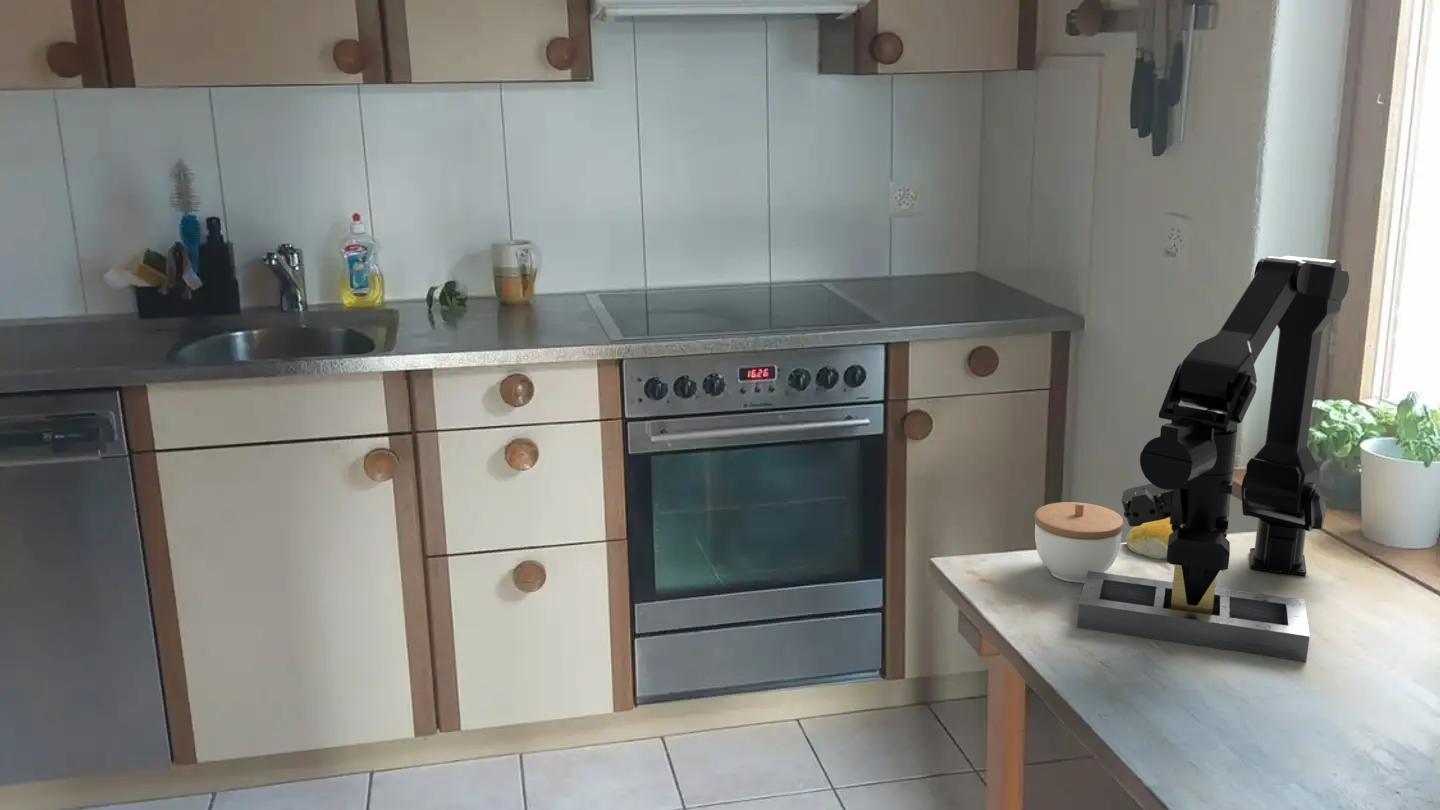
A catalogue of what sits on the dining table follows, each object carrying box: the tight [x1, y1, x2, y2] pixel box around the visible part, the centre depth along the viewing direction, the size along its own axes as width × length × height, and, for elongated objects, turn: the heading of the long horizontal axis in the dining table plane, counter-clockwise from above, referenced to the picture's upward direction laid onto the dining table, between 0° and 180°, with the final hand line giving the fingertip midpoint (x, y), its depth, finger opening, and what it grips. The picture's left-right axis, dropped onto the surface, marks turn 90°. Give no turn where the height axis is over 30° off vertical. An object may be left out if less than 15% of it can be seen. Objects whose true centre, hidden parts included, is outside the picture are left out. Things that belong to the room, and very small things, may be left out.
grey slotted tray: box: [1076, 571, 1310, 662], centre depth 142 cm, size 10×24×3 cm, turn 68°
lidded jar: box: [1034, 501, 1124, 584], centre depth 156 cm, size 11×11×9 cm
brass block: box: [1171, 565, 1217, 615], centre depth 141 cm, size 4×4×6 cm
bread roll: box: [1125, 517, 1173, 560], centre depth 165 cm, size 8×9×4 cm
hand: (1192, 596), depth 142 cm, fingers closed on brass block, 4 cm apart
